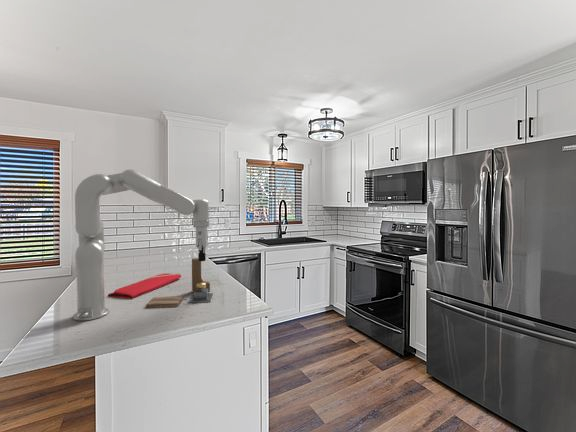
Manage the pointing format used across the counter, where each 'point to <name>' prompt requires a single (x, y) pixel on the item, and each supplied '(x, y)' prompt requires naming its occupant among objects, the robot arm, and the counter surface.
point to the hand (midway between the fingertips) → (202, 260)
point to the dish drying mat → (144, 286)
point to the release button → (201, 285)
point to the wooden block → (197, 275)
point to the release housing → (201, 296)
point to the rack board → (164, 301)
